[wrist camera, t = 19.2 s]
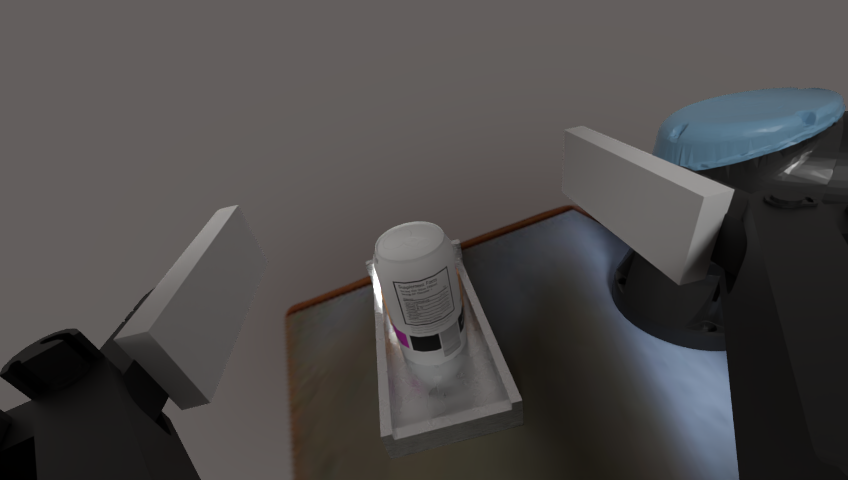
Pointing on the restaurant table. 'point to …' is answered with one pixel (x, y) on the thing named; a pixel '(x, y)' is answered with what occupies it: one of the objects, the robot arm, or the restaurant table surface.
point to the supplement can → (421, 291)
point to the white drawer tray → (443, 383)
